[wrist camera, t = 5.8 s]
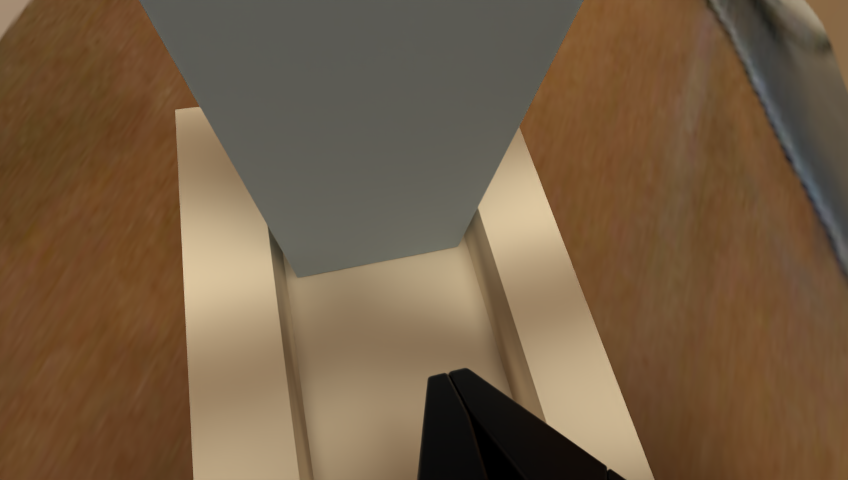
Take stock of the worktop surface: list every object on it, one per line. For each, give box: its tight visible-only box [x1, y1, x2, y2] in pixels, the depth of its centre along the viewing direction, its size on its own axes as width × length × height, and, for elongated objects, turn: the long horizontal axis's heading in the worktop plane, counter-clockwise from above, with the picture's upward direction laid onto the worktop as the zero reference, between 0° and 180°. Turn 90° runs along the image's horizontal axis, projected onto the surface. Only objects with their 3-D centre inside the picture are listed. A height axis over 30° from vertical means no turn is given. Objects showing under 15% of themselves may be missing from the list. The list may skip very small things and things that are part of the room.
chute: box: [175, 107, 654, 480], centre depth 14 cm, size 19×12×3 cm, turn 14°
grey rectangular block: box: [139, 0, 583, 278], centre depth 10 cm, size 6×6×14 cm
